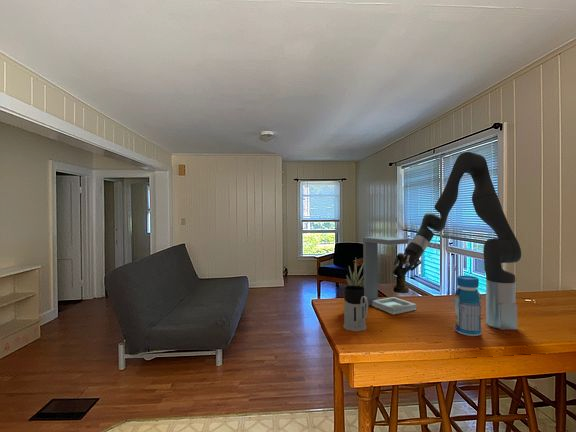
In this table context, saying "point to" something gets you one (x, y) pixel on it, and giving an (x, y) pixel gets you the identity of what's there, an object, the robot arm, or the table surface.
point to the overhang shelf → (371, 276)
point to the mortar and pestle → (401, 281)
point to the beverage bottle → (468, 306)
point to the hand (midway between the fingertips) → (397, 274)
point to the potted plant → (355, 278)
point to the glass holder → (355, 308)
